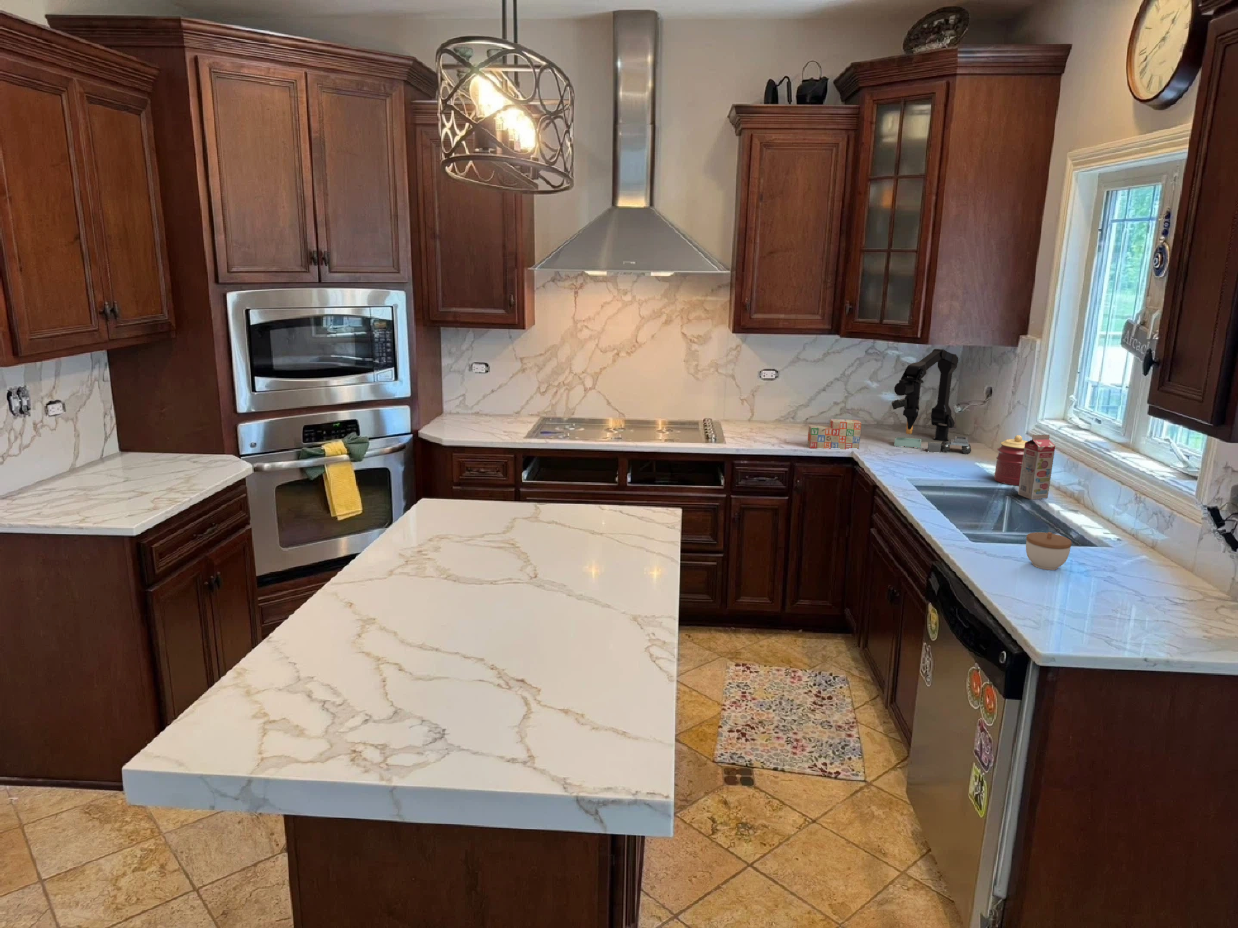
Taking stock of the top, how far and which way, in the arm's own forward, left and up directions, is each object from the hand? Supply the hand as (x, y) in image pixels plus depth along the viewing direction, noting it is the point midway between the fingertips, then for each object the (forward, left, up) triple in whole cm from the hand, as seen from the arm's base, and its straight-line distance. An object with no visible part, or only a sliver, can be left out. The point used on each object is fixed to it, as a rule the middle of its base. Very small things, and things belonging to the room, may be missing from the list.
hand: (909, 428), depth 365 cm
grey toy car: (+3, +19, -8) cm, 21 cm away
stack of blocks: (+18, -30, -8) cm, 36 cm away
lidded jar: (+145, +40, -8) cm, 151 cm away
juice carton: (+69, +44, -8) cm, 82 cm away
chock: (+6, +11, -8) cm, 15 cm away
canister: (+49, +39, -8) cm, 63 cm away
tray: (0, 0, -8) cm, 8 cm away
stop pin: (0, 0, -2) cm, 2 cm away
